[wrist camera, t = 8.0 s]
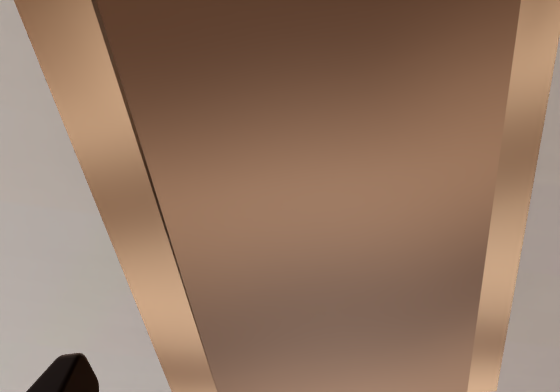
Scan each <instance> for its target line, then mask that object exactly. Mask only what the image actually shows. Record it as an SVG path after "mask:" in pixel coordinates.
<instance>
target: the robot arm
mask: <svg viewBox="0 0 560 392" xmlns="http://www.w3.org/2000/svg"><path fill="white" fill-rule="evenodd" d="M26 392H99V383H98V380H97V377H96V375H95V374H94V372H93V370H92V368H91V366H90V364H89V362H88V360H87V358H86V357H85V355H83V354H82V353H74V354H65V355H61V356H59V357H58V358H57V359H56V360H55V361H54V362H53V363H52V364H51V365H50V366H49V367H48V368H47V370H46V371H45V372H44V373H43V374H42V375H41V376H40V377H39V378H38V379H37V381H36V382H35V383H34V384H33V385H32V386H31V387H30V388H29V389H28V390H27V391H26Z"/></svg>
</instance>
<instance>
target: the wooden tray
mask: <svg viewBox="0 0 560 392" xmlns="http://www.w3.org/2000/svg"><path fill="white" fill-rule="evenodd" d="M14 2H15V4H16V7H17V9H18V11H19V14H20V16H21V19H22V21H23V24H24V26H25V29H26V31H27V34H28V36H29V39H30V41H31V44H32V46H33V49H34V51H35V54H36V56H37V59H38V61H39V64H40V66H41V69H42V71H43V73H44V76H45V78H46V81H47V83H48V86H49V88H50V91H51V93H52V96H53V98H54V101H55V103H56V106H57V108H58V111H59V113H60V116H61V118H62V121H63V123H64V126H65V128H66V130H67V133H68V135H69V138H70V140H71V143H72V145H73V148H74V150H75V153H76V155H77V158H78V160H79V163H80V165H81V168H82V170H83V173H84V175H85V178H86V180H87V183H88V185H89V188H90V190H91V192H92V195H93V197H94V200H95V202H96V205H97V207H98V210H99V212H100V215H101V217H102V220H103V222H104V225H105V227H106V230H107V232H108V235H109V237H110V240H111V242H112V245H113V247H114V249H115V252H116V254H117V257H118V259H119V262H120V264H121V267H122V269H123V272H124V274H125V277H126V279H127V282H128V284H129V287H130V289H131V292H132V294H133V297H134V299H135V302H136V304H137V307H138V309H139V311H140V314H141V316H142V319H143V321H144V324H145V326H146V329H147V331H148V334H149V336H150V339H151V341H152V344H153V346H154V349H155V351H156V354H157V356H158V359H159V361H160V364H161V366H162V368H163V371H164V373H165V376H166V378H167V381H168V383H169V386H170V388H171V391H172V392H217V389H216V385H215V382H214V379H213V376H212V373H211V369H210V366H209V363H208V360H207V356H206V353H205V350H204V347H203V343H202V340H201V337H200V334H199V330H198V327H197V324H196V321H195V318H194V314H193V311H192V308H191V305H190V301H189V298H188V295H187V292H186V288H185V285H184V282H183V279H182V276H181V272H180V269H179V266H178V263H177V259H176V256H175V253H174V250H173V246H172V243H171V240H170V237H169V234H168V230H167V227H166V224H165V221H164V217H163V214H162V211H161V208H160V204H159V201H158V198H157V195H156V191H155V188H154V185H153V182H152V179H151V175H150V172H149V169H148V166H147V162H146V159H145V156H144V153H143V149H142V146H141V143H140V140H139V137H138V133H137V130H136V127H135V124H134V120H133V117H132V114H131V111H130V107H129V104H128V101H127V98H126V95H125V91H124V88H123V85H122V82H121V78H120V75H119V72H118V69H117V65H116V62H115V59H114V56H113V53H112V49H111V46H110V43H109V40H108V36H107V33H106V30H105V27H104V23H103V20H102V17H101V14H100V10H99V7H98V4H97V1H96V0H14ZM559 35H560V0H521V4H520V11H519V19H518V26H517V33H516V41H515V48H514V55H513V62H512V70H511V77H510V84H509V91H508V99H507V106H506V113H505V121H504V128H503V135H502V142H501V150H500V157H499V164H498V172H497V179H496V186H495V193H494V201H493V208H492V215H491V222H490V230H489V237H488V244H487V252H486V259H485V266H484V273H483V281H482V288H481V295H480V302H479V310H478V317H477V324H476V332H475V339H474V346H473V353H472V361H471V368H470V375H469V383H468V390H467V392H490V391H497V385H498V379H499V374H500V368H501V362H502V357H503V351H504V345H505V340H506V334H507V329H508V323H509V317H510V312H511V306H512V300H513V295H514V289H515V283H516V278H517V272H518V267H519V261H520V255H521V250H522V244H523V238H524V233H525V227H526V221H527V216H528V210H529V205H530V199H531V193H532V188H533V182H534V176H535V171H536V165H537V159H538V154H539V148H540V142H541V137H542V131H543V126H544V120H545V114H546V109H547V103H548V97H549V92H550V86H551V80H552V75H553V69H554V64H555V58H556V52H557V47H558V41H559Z"/></svg>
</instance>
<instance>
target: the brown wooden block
mask: <svg viewBox="0 0 560 392" xmlns="http://www.w3.org/2000/svg"><path fill="white" fill-rule="evenodd" d="M96 1H97V4H98V7H99V10H100V14H101V17H102V20H103V23H104V27H105V30H106V33H107V36H108V40H109V43H110V46H111V49H112V53H113V56H114V59H115V62H116V65H117V69H118V72H119V75H120V78H121V82H122V85H123V88H124V91H125V95H126V98H127V101H128V104H129V107H130V111H131V114H132V117H133V120H134V124H135V127H136V130H137V133H138V137H139V140H140V143H141V146H142V149H143V153H144V156H145V159H146V162H147V166H148V169H149V172H150V175H151V179H152V182H153V185H154V188H155V191H156V195H157V198H158V201H159V204H160V208H161V211H162V214H163V217H164V221H165V224H166V227H167V230H168V234H169V237H170V240H171V243H172V246H173V250H174V253H175V256H176V259H177V263H178V266H179V269H180V272H181V276H182V279H183V282H184V285H185V288H186V292H187V295H188V298H189V301H190V305H191V308H192V311H193V314H194V318H195V321H196V324H197V327H198V330H199V334H200V337H201V340H202V343H203V347H204V350H205V353H206V356H207V360H208V363H209V366H210V369H211V373H212V376H213V379H214V382H215V385H216V389H217V392H467V390H468V383H469V375H470V368H471V361H472V353H473V346H474V339H475V332H476V324H477V317H478V310H479V302H480V295H481V288H482V281H483V273H484V266H485V259H486V252H487V244H488V237H489V230H490V222H491V215H492V208H493V201H494V193H495V186H496V179H497V172H498V164H499V157H500V150H501V142H502V135H503V128H504V121H505V113H506V106H507V99H508V91H509V84H510V77H511V70H512V62H513V55H514V48H515V41H516V33H517V26H518V19H519V11H520V4H521V0H96Z"/></svg>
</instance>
